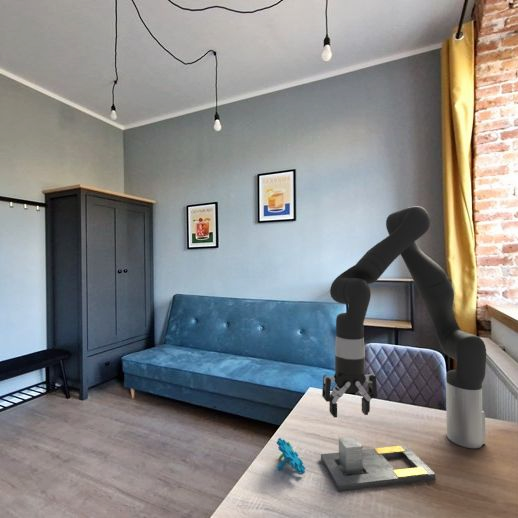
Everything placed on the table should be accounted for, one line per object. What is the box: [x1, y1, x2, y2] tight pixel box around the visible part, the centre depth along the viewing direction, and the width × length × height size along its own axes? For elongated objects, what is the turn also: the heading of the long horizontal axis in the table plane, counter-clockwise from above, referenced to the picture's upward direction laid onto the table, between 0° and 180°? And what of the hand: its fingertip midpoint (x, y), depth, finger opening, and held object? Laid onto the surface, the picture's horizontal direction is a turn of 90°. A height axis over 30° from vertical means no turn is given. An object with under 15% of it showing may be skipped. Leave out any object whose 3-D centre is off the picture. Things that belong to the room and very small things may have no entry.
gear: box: [276, 437, 306, 475], centre depth 82 cm, size 11×6×10 cm
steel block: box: [338, 435, 364, 476], centre depth 81 cm, size 4×4×8 cm
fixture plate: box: [320, 444, 436, 493], centre depth 82 cm, size 26×12×2 cm, turn 99°
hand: (349, 414), depth 81 cm, fingers open, 8 cm apart
